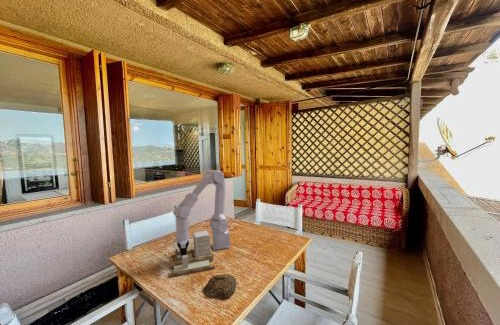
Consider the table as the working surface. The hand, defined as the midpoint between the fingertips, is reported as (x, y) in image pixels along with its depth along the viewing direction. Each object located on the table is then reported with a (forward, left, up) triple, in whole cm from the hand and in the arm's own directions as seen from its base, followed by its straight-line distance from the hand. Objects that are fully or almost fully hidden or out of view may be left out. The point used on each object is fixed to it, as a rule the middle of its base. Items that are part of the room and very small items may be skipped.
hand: (183, 256), depth 109 cm
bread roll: (-13, +28, -3) cm, 31 cm away
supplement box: (-9, 0, -2) cm, 9 cm away
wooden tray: (-5, 0, -2) cm, 5 cm away
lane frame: (-4, +3, -2) cm, 5 cm away
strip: (-4, +9, -2) cm, 10 cm away
